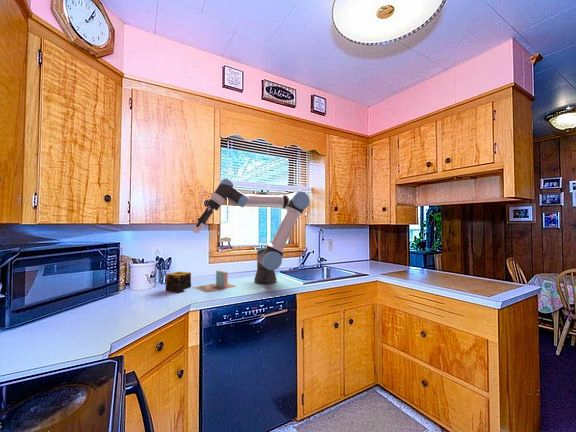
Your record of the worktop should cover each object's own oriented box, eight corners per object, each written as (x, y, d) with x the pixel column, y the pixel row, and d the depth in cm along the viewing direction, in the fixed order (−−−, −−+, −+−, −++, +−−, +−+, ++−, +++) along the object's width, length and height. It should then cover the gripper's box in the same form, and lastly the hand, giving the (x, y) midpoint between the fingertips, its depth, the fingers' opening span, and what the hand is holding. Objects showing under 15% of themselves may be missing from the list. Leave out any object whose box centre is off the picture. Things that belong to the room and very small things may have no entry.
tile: (218, 285, 163) (219, 270, 163) (227, 287, 157) (227, 272, 157) (215, 285, 161) (216, 270, 161) (224, 288, 155) (224, 272, 155)
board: (222, 283, 171) (222, 282, 171) (237, 288, 160) (237, 286, 160) (192, 289, 156) (192, 287, 156) (206, 294, 145) (206, 292, 145)
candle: (178, 293, 147) (178, 275, 147) (164, 291, 151) (165, 274, 151) (191, 289, 157) (191, 272, 157) (178, 287, 160) (178, 271, 161)
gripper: (211, 201, 170) (192, 229, 166) (208, 195, 145) (186, 227, 142) (221, 207, 171) (202, 235, 167) (220, 202, 147) (198, 235, 143)
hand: (194, 232), depth 154 cm, fingers open, 13 cm apart
